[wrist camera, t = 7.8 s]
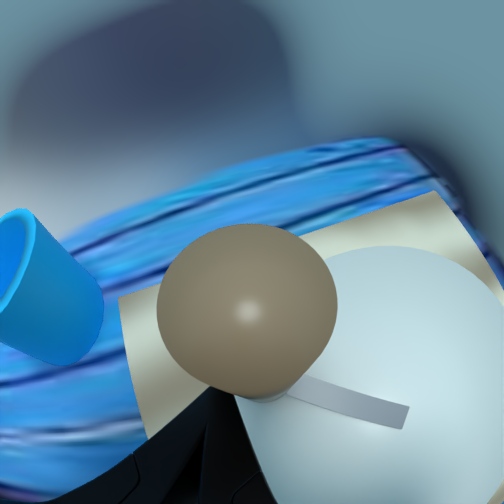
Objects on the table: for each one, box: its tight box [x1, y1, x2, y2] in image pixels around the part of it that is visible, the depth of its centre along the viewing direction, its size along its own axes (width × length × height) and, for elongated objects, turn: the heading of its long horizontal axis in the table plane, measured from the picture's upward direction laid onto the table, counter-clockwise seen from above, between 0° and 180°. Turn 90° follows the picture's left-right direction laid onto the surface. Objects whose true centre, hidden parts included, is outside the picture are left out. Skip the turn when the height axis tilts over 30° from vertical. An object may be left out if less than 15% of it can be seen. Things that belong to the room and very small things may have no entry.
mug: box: [0, 209, 104, 366], centre depth 14 cm, size 12×8×8 cm
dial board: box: [118, 191, 504, 504], centre depth 12 cm, size 26×26×2 cm
